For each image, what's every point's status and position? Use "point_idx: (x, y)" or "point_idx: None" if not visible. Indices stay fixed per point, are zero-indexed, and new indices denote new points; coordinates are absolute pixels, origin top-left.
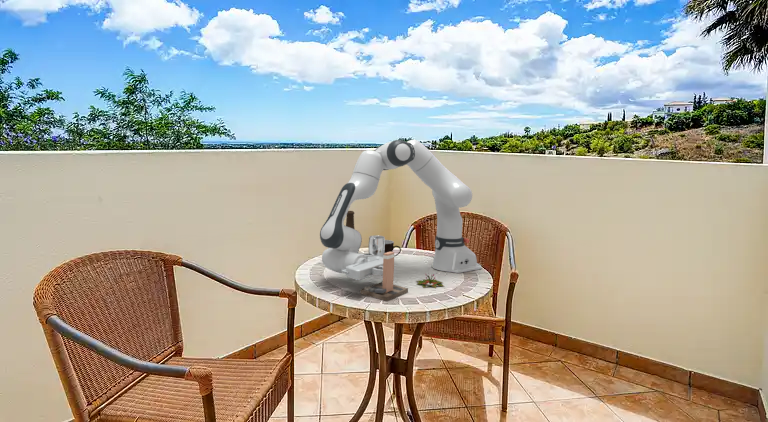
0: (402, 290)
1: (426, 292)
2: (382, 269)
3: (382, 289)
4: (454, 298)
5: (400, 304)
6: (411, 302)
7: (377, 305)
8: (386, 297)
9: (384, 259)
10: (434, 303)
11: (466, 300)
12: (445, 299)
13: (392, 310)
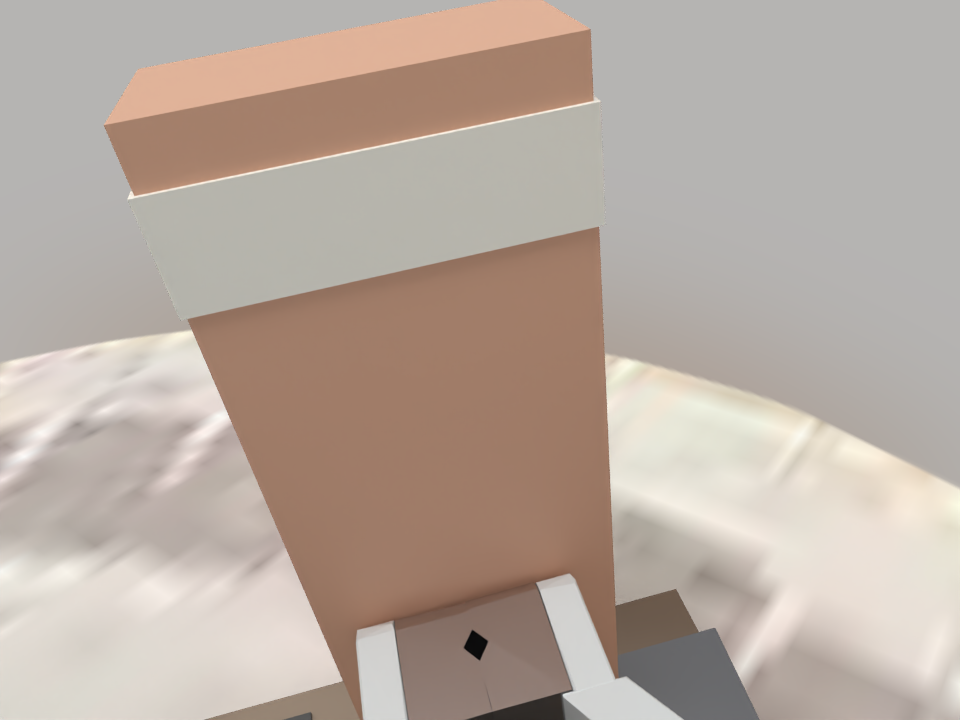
0: (284, 703)
1: (22, 637)
2: (523, 675)
3: (672, 688)
4: (68, 413)
5: None
6: None
7: (864, 571)
8: (678, 601)
9: (583, 235)
10: None
11: (66, 360)
12: (139, 423)
13: (752, 415)
